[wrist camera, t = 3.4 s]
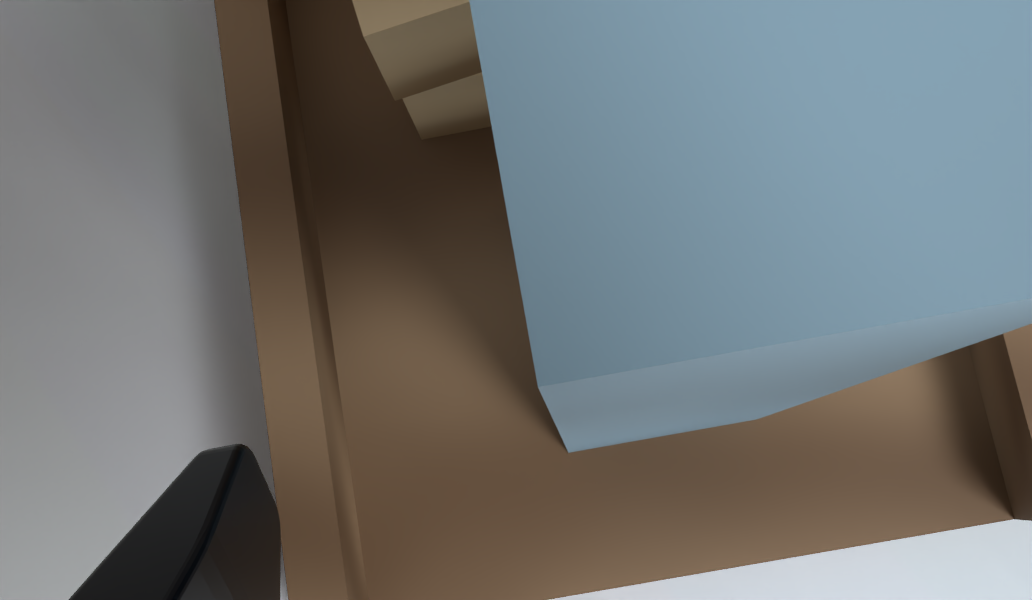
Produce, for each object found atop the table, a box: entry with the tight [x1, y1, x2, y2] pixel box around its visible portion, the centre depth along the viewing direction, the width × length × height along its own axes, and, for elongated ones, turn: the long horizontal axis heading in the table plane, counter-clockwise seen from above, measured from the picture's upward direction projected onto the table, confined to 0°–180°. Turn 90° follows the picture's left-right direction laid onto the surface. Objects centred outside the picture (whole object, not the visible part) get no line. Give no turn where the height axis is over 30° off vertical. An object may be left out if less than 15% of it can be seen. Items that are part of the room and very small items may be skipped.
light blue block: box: [469, 0, 1032, 453], centre depth 12 cm, size 5×4×13 cm
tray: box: [214, 0, 1032, 600], centre depth 17 cm, size 15×14×7 cm
